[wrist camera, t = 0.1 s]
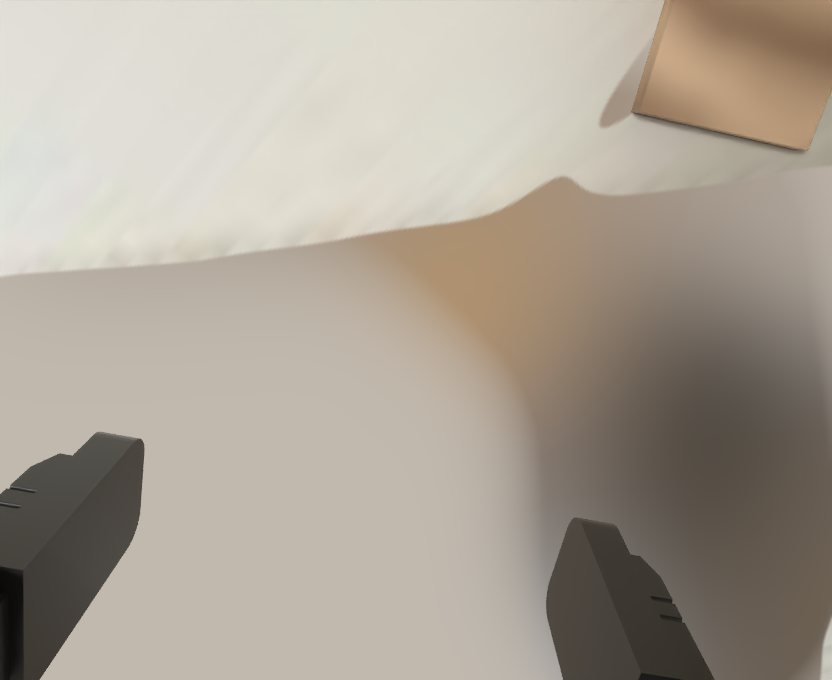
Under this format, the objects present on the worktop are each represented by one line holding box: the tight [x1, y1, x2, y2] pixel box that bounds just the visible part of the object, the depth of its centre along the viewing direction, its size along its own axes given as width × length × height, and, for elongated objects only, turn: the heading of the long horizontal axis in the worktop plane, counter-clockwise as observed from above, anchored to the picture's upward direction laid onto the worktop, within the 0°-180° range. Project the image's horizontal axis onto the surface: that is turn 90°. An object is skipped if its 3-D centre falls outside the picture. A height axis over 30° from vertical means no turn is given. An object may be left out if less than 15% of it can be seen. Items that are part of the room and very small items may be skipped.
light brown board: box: [632, 0, 832, 150], centre depth 35 cm, size 12×10×2 cm
